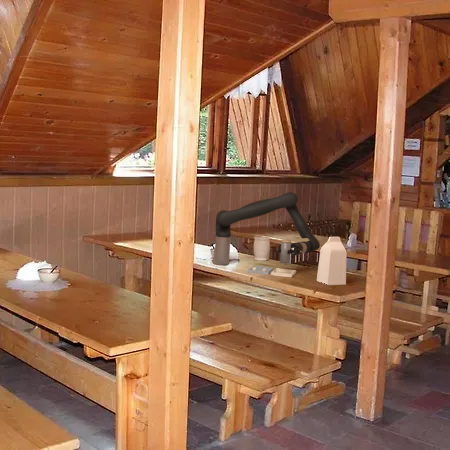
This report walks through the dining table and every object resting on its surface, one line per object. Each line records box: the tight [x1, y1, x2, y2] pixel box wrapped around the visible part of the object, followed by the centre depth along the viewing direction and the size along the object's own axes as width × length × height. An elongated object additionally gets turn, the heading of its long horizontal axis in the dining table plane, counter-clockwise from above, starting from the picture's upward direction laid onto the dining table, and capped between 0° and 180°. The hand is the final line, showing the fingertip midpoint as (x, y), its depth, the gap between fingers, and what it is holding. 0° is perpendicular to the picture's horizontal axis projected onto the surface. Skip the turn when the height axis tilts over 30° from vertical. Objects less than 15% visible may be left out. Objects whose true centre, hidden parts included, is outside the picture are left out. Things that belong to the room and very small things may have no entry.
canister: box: [279, 239, 292, 265], centre depth 389 cm, size 6×6×13 cm
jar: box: [253, 235, 271, 262], centre depth 437 cm, size 11×10×15 cm
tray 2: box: [270, 267, 297, 278], centre depth 390 cm, size 12×15×2 cm
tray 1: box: [248, 265, 275, 276], centre depth 394 cm, size 12×15×2 cm
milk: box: [316, 236, 348, 286], centre depth 375 cm, size 12×12×26 cm
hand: (283, 251), depth 387 cm, fingers closed on canister, 5 cm apart
